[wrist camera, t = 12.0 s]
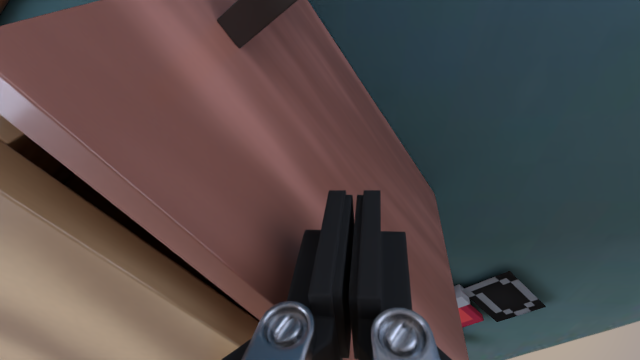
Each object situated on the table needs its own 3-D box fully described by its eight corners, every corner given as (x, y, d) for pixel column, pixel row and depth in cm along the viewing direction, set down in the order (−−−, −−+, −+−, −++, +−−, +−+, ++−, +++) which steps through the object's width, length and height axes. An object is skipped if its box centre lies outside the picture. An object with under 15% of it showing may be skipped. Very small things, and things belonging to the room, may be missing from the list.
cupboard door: (338, -103, 23) (116, -273, 4) (487, 172, 34) (627, 493, 15) (268, -37, 26) (-63, 67, 6) (426, 197, 37) (476, 492, 17)
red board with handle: (550, 307, 44) (485, 243, 39) (559, 327, 42) (491, 261, 37) (376, 361, 60) (314, 320, 55) (375, 378, 58) (311, 336, 53)
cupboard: (248, -15, 27) (-93, 133, 7) (424, 198, 37) (473, 496, 17) (137, 111, 35) (-155, 332, 16) (304, 256, 45) (248, 499, 26)
